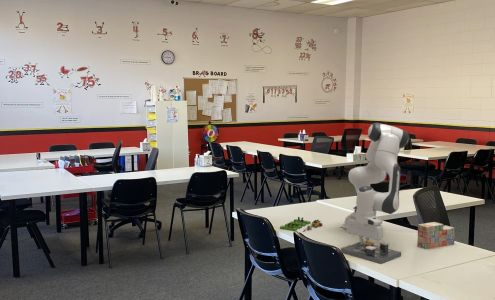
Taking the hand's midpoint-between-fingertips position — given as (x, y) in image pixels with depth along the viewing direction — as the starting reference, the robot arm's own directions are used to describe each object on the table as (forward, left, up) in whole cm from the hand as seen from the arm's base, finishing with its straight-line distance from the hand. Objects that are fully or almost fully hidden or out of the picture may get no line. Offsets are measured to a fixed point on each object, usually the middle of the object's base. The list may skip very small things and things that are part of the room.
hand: (363, 244), depth 249 cm
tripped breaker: (+3, 0, -2) cm, 4 cm away
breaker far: (+8, +6, -2) cm, 10 cm away
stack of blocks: (+18, +41, -4) cm, 45 cm away
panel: (+4, 0, -4) cm, 6 cm away
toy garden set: (-55, +14, -5) cm, 57 cm away
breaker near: (+8, -6, -2) cm, 10 cm away
